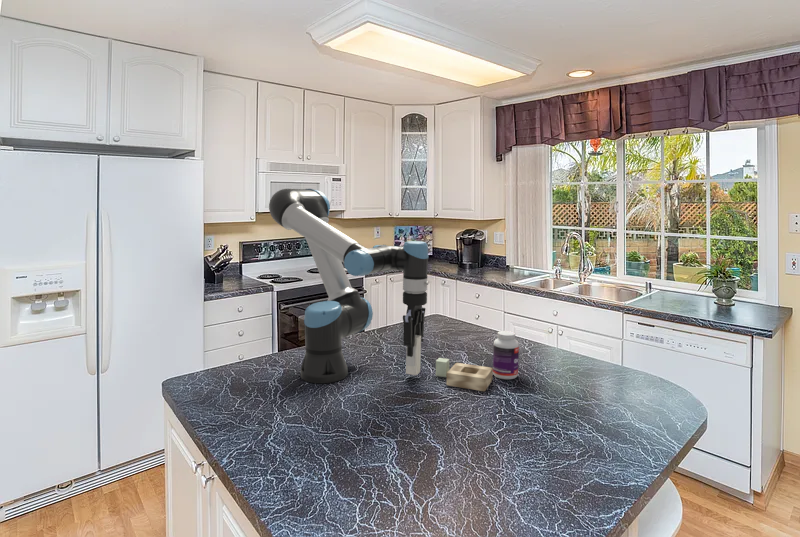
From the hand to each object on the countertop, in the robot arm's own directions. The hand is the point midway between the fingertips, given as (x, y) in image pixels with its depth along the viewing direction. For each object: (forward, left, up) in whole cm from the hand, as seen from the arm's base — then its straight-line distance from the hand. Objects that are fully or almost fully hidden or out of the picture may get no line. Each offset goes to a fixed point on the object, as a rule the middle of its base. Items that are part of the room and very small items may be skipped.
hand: (413, 363), depth 153 cm
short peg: (+8, +7, -5) cm, 11 cm away
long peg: (0, 0, -3) cm, 3 cm away
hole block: (+18, +4, -5) cm, 19 cm away
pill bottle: (+27, +14, -5) cm, 30 cm away
